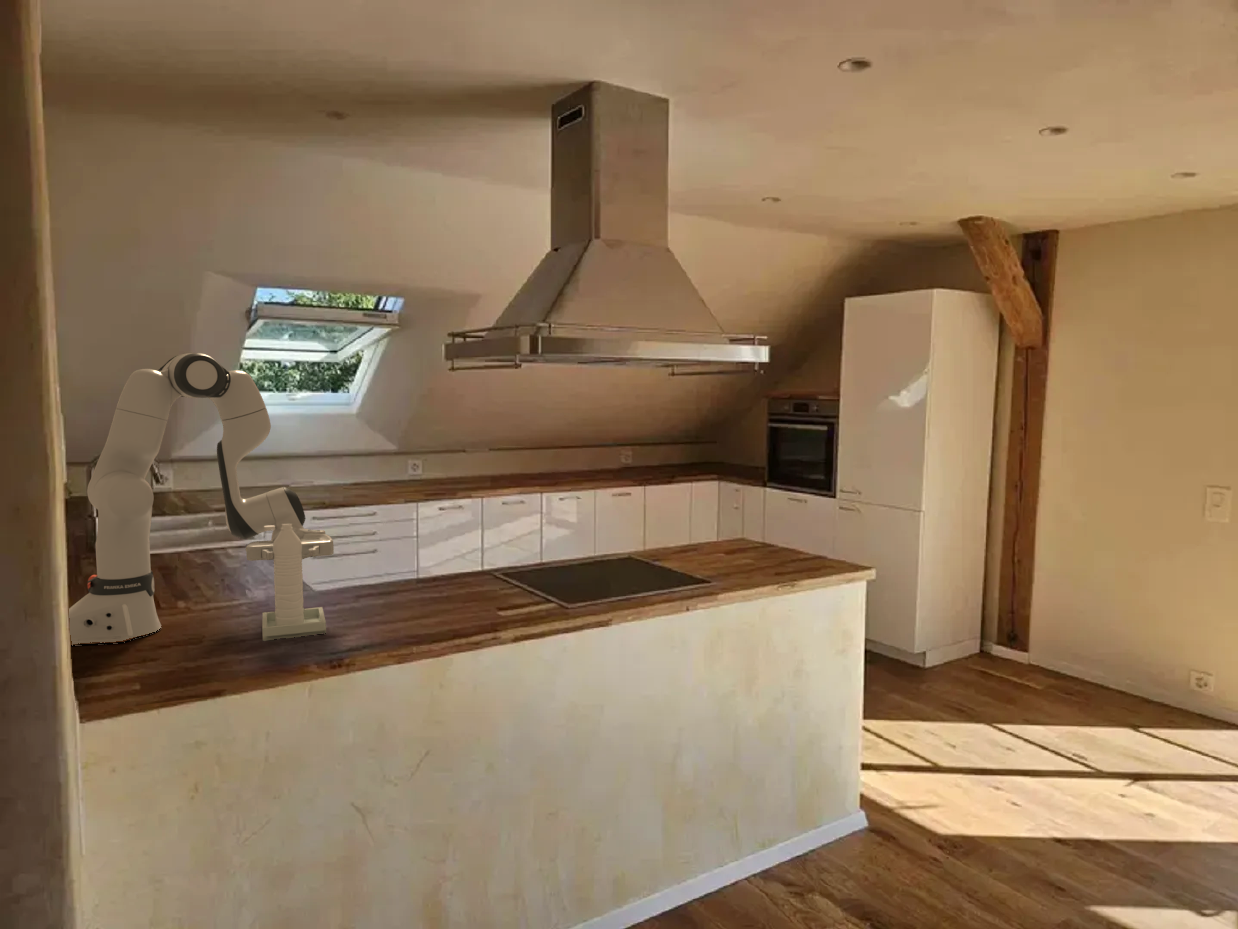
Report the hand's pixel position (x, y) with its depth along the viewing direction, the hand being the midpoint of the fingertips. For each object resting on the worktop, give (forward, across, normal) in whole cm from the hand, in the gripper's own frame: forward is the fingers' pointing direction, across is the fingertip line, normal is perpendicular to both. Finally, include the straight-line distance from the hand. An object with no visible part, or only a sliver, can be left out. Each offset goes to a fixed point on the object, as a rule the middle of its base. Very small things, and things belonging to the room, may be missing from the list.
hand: (291, 555), depth 203 cm
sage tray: (0, 0, +18) cm, 19 cm away
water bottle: (0, -2, +18) cm, 18 cm away
